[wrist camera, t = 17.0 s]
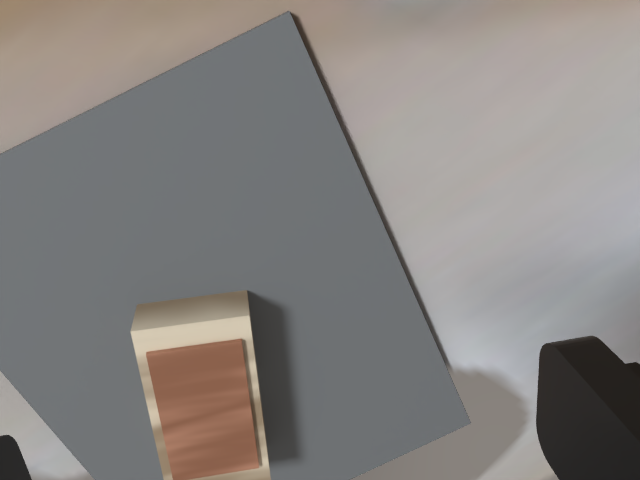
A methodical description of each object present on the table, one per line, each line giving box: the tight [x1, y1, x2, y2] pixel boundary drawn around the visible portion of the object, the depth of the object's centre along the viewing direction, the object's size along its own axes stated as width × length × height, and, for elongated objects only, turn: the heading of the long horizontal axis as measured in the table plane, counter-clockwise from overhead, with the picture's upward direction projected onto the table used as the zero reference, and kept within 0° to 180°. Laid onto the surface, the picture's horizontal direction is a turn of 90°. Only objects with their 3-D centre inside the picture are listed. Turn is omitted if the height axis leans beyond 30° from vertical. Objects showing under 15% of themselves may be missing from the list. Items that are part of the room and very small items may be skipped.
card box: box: [130, 290, 271, 480], centre depth 37 cm, size 3×6×12 cm
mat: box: [0, 11, 471, 480], centre depth 37 cm, size 24×30×1 cm
